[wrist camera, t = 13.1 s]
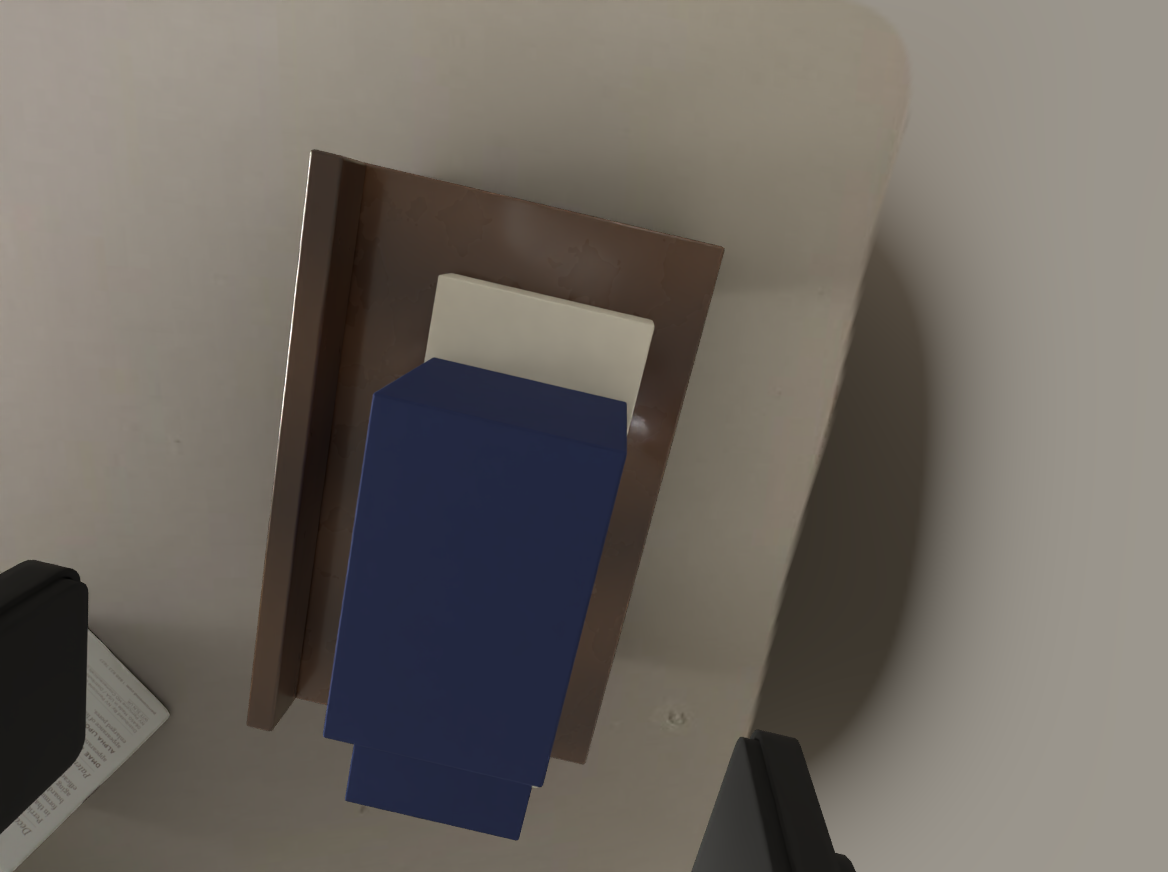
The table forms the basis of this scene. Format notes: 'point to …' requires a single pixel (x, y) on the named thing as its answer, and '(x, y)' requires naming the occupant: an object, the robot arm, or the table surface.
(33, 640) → the robot arm
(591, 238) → the shelf
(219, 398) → the table surface
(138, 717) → the cosmetic box
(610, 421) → the navy stepped block
